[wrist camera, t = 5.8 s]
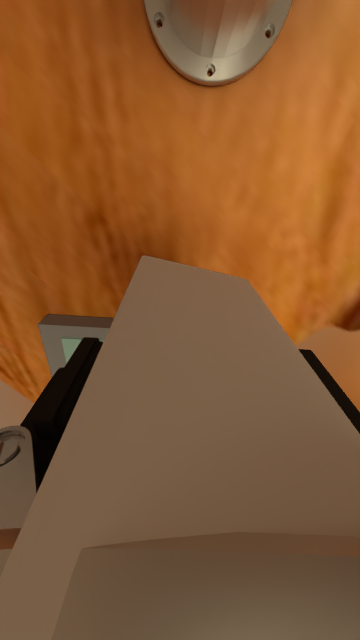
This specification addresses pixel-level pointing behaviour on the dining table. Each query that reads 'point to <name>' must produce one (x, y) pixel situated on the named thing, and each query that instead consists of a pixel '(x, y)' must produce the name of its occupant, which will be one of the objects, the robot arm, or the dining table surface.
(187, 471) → the milk carton
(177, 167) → the dining table surface
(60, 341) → the plate
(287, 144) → the dining table surface
